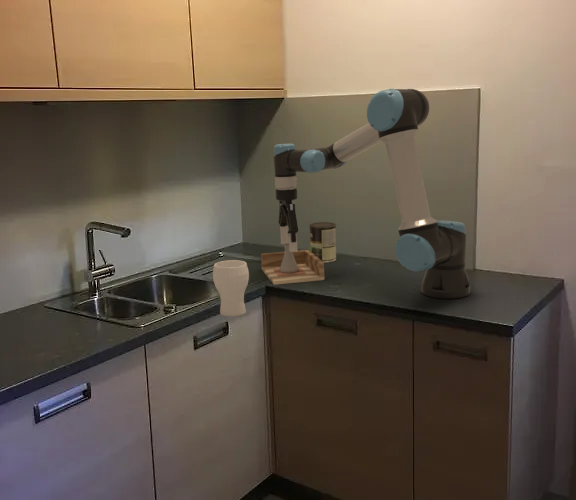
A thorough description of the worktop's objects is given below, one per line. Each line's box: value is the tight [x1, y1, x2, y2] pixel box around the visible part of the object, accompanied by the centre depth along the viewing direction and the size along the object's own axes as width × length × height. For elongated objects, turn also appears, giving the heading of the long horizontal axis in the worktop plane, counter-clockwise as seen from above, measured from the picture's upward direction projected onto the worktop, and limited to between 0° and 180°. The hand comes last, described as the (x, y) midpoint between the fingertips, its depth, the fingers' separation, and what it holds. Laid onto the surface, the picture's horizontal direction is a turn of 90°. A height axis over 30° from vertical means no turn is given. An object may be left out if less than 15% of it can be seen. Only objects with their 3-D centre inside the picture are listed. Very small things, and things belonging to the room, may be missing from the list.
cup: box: [212, 259, 250, 317], centre depth 197 cm, size 11×11×15 cm
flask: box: [279, 243, 299, 273], centre depth 238 cm, size 7×7×10 cm
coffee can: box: [308, 221, 337, 264], centre depth 258 cm, size 10×10×14 cm
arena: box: [260, 249, 325, 286], centre depth 239 cm, size 22×18×6 cm
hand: (289, 247), depth 237 cm, fingers open, 13 cm apart
